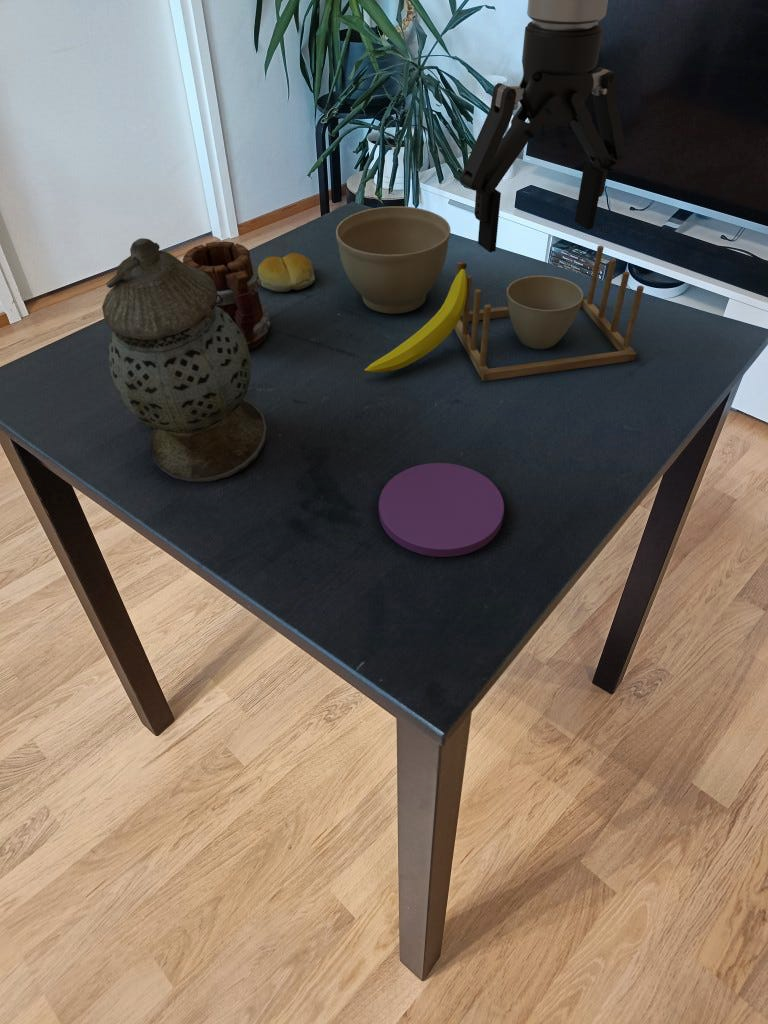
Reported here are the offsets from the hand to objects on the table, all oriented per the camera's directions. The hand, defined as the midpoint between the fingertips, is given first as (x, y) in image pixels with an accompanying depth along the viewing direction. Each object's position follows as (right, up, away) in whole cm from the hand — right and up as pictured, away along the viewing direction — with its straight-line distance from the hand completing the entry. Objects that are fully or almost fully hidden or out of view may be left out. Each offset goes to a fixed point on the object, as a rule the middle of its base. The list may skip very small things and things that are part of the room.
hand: (536, 236), depth 84 cm
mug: (-39, -8, +16) cm, 43 cm away
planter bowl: (-17, -1, +24) cm, 29 cm away
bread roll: (-33, +4, +29) cm, 44 cm away
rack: (+3, -9, +14) cm, 17 cm away
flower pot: (+3, -9, +15) cm, 17 cm away
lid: (-12, -33, -10) cm, 36 cm away
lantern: (-39, -24, -1) cm, 46 cm away
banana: (-11, -11, +11) cm, 19 cm away
